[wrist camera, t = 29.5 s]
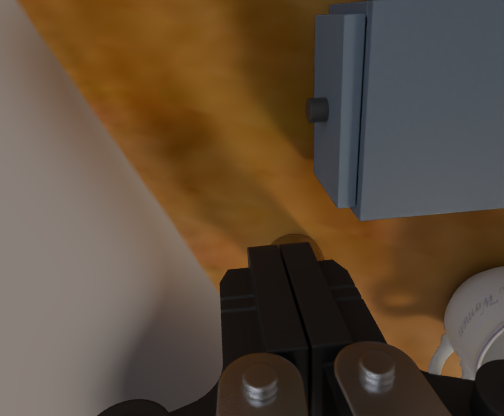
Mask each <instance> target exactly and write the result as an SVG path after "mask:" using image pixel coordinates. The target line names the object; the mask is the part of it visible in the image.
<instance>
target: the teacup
mask: <svg viewBox="0 0 504 416" xmlns="http://www.w3.org/2000/svg"><path fill="white" fill-rule="evenodd" d="M444 327H445V331H446V333H445V334H444V335H443V336H442V337H441V344H440V346H439V347H438V349H437V350H436V352H435V353H434V355H433V357H432V359H431V361H430V364H429V366H428V373H431V374H436V375H440V374H441V369H442V367H443V365H444V363H445V361H446V360H447V358H448V357H449V356H450V355H451V354H452V353H453V352H456V353H457V355H458V356H459V358H460V359H461V361H460V366H461V369H462V377H461V378H462V379H469V380H475V376H476V372H477V370H478V369H479V368H480V367H481V366H482V365H483V364H485V363H486V362H489V361H492V360H498V359H504V266H502V267H496V268H492V269H489V270H486V271H483V272H480V273H478V274H475V275H473V276H472V277H470V278H469V279H467V280H466V281H465V282H463V283H462V284H461V285H460V286H459V287H458V288H457V290H456V291H455V292H454V294H453V296H452V298H451V299H450V301H449V303H448V305H447V308H446V311H445V316H444Z"/></svg>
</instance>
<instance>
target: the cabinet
mask: <svg viewBox="0 0 504 416" xmlns="http://www.w3.org/2000/svg"><path fill="white" fill-rule="evenodd" d="M359 13H365V14H366V22H365V24H366V23H367V32H366V49H365V67H364V85H363V102H362V120H361V137H360V155H359V172H358V175H357V185H356V203H355V207H350V209H351V210H352V211H353V213H354V214H355V215H356V217H357V218H358V219H359V221H367V220H378V219H389V218H400V217H411V216H422V215H433V214H444V213H455V212H466V211H477V210H488V209H499V208H504V0H370V1H361V2H351V3H342V4H332V5H330V6H329V14H359Z"/></svg>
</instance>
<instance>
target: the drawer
mask: <svg viewBox="0 0 504 416" xmlns="http://www.w3.org/2000/svg"><path fill="white" fill-rule="evenodd" d="M365 22H366V14H365V13H359V14H327V15H315V91H314V98H308V99H307V101H306V118H307V121H308V123H314V174H315V176H316V177H317V179H318V180H319V182H320V183H321V185H322V186H323V188H324V189H325V190H326V192H327V193H328V195H329V196H330V198H331V199H332V201H333V202H334V204H335V205H336V207H337V208H348V207H355V203H356V185H357V175H358V172H359V155H360V137H361V120H362V102H363V85H364V67H365V49H366V32H367V23H366V24H365Z"/></svg>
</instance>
